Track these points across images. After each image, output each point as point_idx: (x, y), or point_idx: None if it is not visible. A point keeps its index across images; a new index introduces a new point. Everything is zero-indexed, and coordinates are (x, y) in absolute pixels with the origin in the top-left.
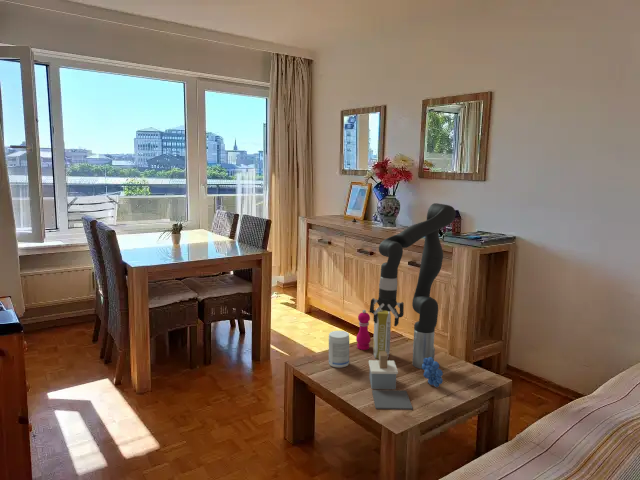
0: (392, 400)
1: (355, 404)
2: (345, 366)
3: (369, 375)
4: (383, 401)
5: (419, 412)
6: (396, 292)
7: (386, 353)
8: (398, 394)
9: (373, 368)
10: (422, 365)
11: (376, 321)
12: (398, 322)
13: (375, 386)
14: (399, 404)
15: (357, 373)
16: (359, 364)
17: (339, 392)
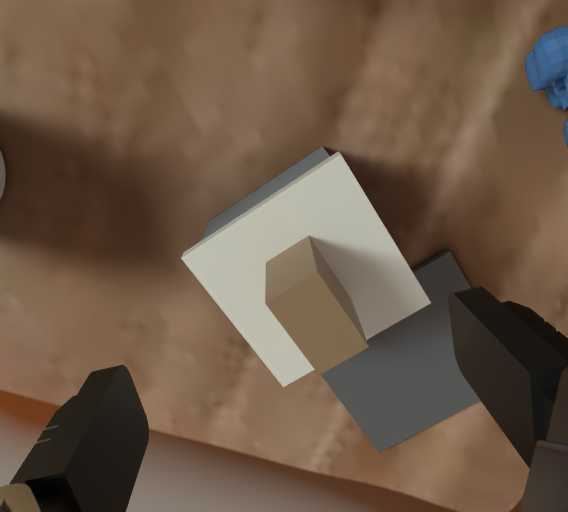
0: (421, 371)
1: (290, 461)
2: (4, 177)
3: (207, 227)
4: (388, 398)
5: None
6: None
7: (340, 311)
8: (427, 309)
9: (276, 347)
10: (549, 67)
11: (138, 440)
12: (540, 321)
13: None
14: (461, 383)
15: (119, 209)
16: (45, 82)
17: (176, 423)
